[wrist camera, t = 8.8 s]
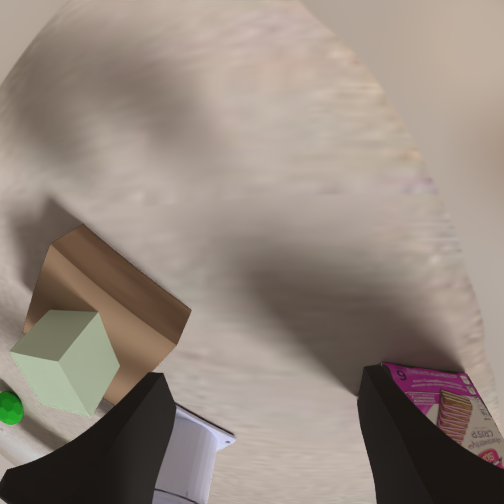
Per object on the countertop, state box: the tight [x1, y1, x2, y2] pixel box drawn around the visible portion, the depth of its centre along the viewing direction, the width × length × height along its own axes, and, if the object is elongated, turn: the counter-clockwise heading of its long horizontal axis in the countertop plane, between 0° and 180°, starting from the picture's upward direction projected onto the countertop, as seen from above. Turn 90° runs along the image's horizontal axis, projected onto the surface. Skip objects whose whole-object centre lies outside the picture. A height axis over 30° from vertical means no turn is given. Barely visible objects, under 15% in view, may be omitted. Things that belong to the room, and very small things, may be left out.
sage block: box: [9, 310, 120, 418], centre depth 16 cm, size 4×4×5 cm
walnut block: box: [23, 224, 192, 405], centre depth 20 cm, size 10×10×4 cm
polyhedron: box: [0, 391, 23, 425], centre depth 28 cm, size 5×5×5 cm
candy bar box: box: [357, 362, 504, 469], centre depth 16 cm, size 11×5×16 cm, turn 75°
